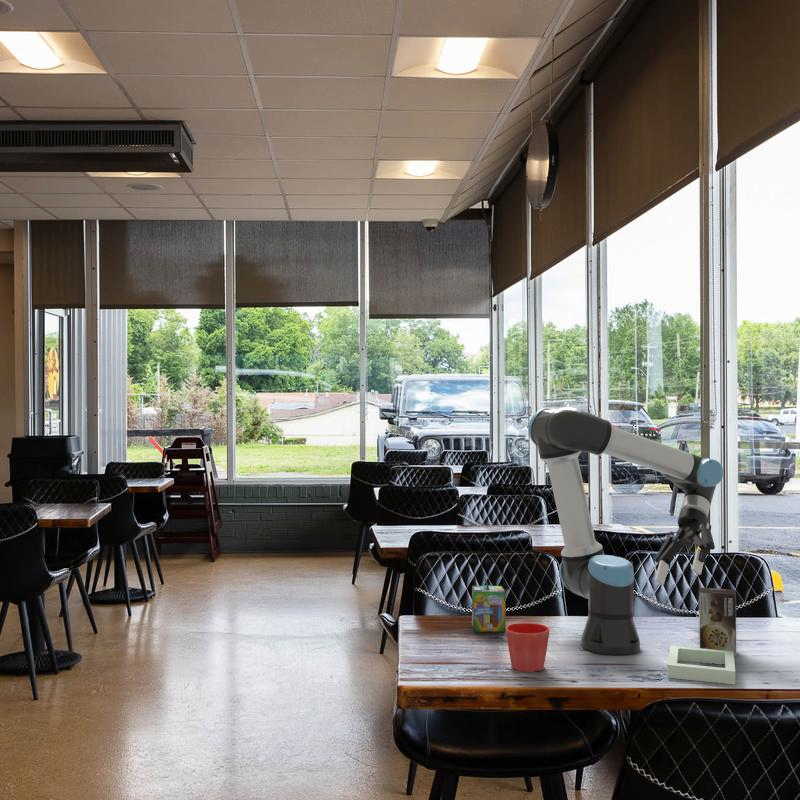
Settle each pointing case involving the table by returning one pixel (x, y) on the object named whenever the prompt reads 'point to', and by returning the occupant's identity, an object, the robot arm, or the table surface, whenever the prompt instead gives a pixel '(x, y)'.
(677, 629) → the table surface
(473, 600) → the chalk box
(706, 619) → the coffee box
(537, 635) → the flower pot
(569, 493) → the robot arm
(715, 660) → the sage collar
